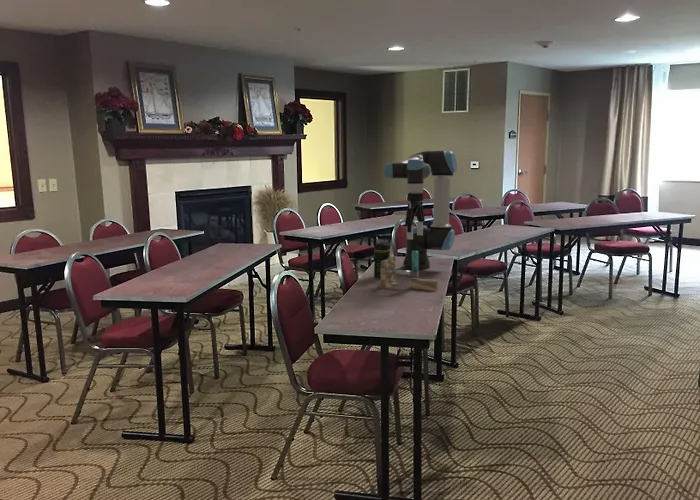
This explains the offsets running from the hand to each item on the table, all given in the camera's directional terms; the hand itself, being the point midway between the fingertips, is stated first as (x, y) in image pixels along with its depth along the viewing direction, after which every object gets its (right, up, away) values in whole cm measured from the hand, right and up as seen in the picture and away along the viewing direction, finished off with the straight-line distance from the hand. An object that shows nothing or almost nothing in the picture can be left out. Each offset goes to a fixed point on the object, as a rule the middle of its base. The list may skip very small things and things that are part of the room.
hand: (415, 237), depth 277 cm
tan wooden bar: (+5, -25, +3) cm, 25 cm away
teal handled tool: (-6, -19, +7) cm, 21 cm away
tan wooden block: (-12, -23, +11) cm, 28 cm away
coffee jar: (-14, -20, +29) cm, 38 cm away
